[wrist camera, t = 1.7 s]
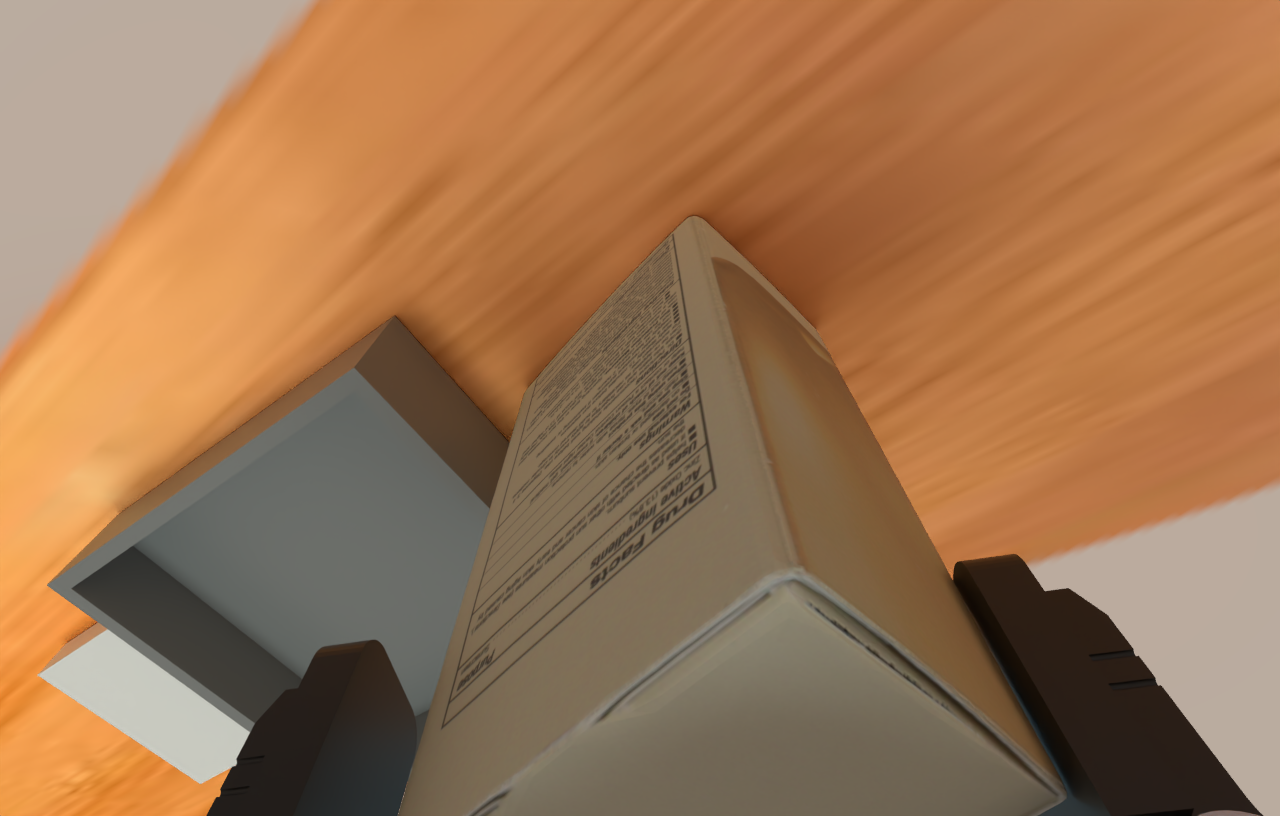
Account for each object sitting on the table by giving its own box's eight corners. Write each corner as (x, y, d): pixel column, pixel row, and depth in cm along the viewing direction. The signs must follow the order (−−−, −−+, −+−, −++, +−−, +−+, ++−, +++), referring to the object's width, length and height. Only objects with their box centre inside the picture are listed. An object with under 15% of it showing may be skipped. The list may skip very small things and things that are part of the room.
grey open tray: (394, 315, 18) (353, 367, 15) (644, 593, 22) (643, 669, 20) (0, 599, 22) (-79, 674, 20) (268, 785, 27) (229, 867, 24)
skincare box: (647, 487, 20) (643, 1048, 10) (518, 388, 19) (343, 914, 8) (832, 322, 18) (1104, 819, 7) (702, 195, 17) (794, 575, 6)
